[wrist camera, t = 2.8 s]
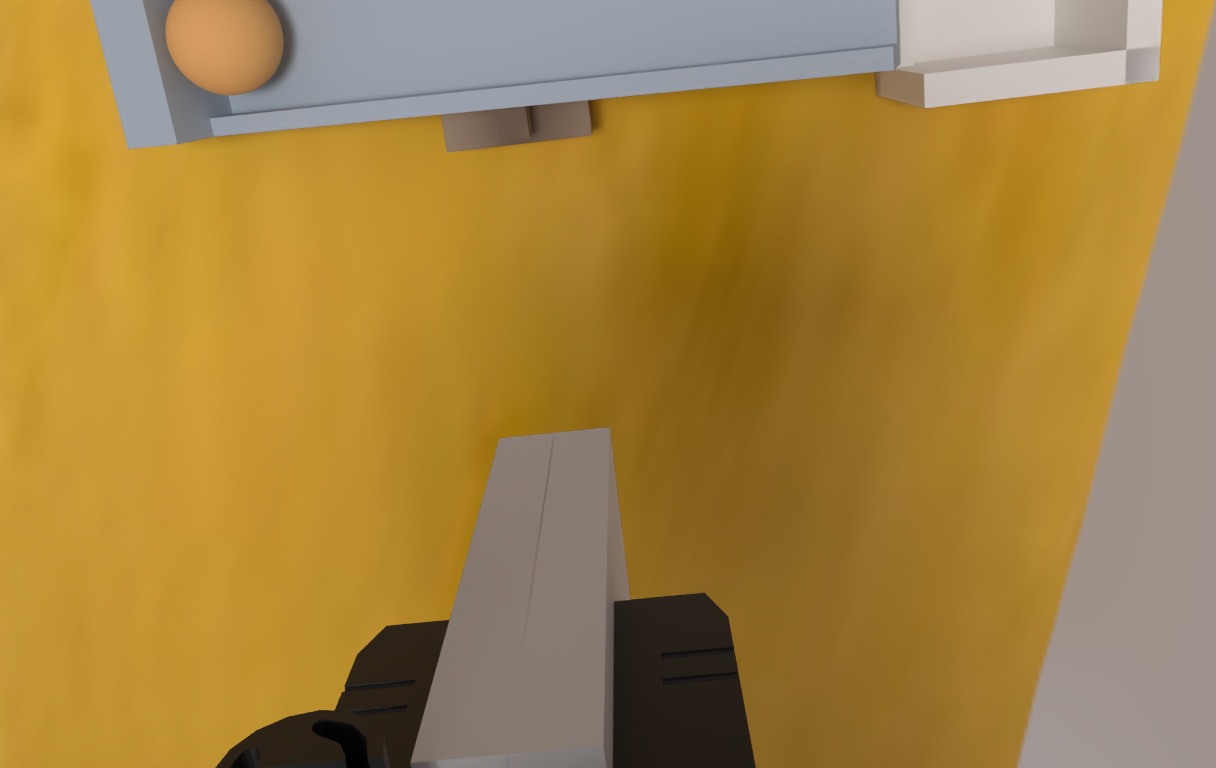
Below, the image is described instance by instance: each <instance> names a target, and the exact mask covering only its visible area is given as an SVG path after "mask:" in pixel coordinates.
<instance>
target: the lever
mask: <svg viewBox="0 0 1216 768" xmlns="http://www.w3.org/2000/svg"><path fill="white" fill-rule="evenodd" d="M174 1H175V0H90V3H91V7H92V11H93V14H94V18H95V22H96V26H97V30H98V34H99V38H100V42H101V45H102V49H103V53H104V57H105V61H106V65H107V69H108V73H109V77H110V80H111V84H112V88H113V92H114V96H115V100H116V104H117V108H118V112H119V115H120V119H121V123H122V127H123V131H124V135H125V139H126V143H127V146H128V149H133V148H143V147H153V146H164V145H174V144H181V143H186V142H190V141H195V140H200V139H205V138H210V137H215V136H226V135H236V134H246V133H256V132H266V131H277V130H287V129H297V128H307V127H318V126H328V125H338V124H348V123H359V122H369V121H379V120H389V119H399V118H410V117H420V116H430V115H440V114H451V113H461V112H471V111H481V110H492V109H502V108H512V107H522V106H532V105H543V104H553V103H563V102H573V101H584V100H594V99H604V98H614V97H625V96H635V95H645V94H655V93H665V92H676V91H686V90H696V89H706V88H717V87H727V86H737V85H747V84H758V83H768V82H778V81H788V80H799V79H809V78H819V77H829V76H839V75H850V74H860V73H870V72H880V71H891V70H895V69H896V68H897V67H898V66H899V65H900V64H901V61H900V24H899V0H267V1H268V3H269V4H270V5H271V6H272V8H273V9H274V11H275V13H276V15H277V17H278V19H279V21H280V24H281V28H282V32H283V41H284V45H283V54H282V58H281V61H280V64H279V66H278V68H277V70H276V72H275V73H274V74H273V76H272V77H271V78H270V79H269V80H268V81H267V82H266V83H265V84H264V85H262V86H261V87H259V88H258V89H256V90H253V91H251V92H249V93H245V94H240V95H221V94H216V93H213V92H210V91H207V90H205V89H203V88H201V87H199V86H197V85H195V84H194V83H193V82H191V81H190V80H189V79H188V78H187V77H185V76H184V74H183V73H182V72H181V71H180V70H179V68H178V67H177V66H176V64H175V63H174V61H173V59H172V57H171V55H170V52H169V50H168V46H167V42H166V35H165V27H166V20H167V16H168V13H169V10H170V8H171V5H172V4H173V2H174Z"/></svg>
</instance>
